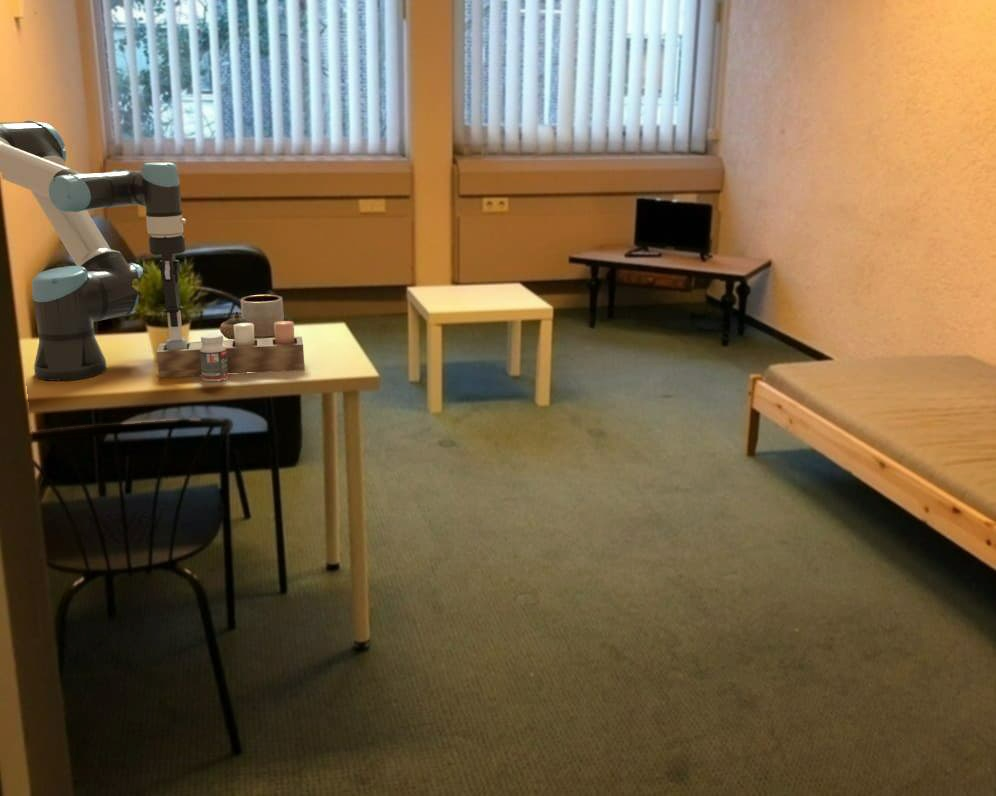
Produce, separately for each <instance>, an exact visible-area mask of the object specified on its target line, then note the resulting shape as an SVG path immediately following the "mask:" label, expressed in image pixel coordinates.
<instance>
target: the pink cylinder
mask: <svg viewBox="0 0 996 796" xmlns="http://www.w3.org/2000/svg"><path fill="white" fill-rule="evenodd" d="M294 327H295V324H294V321H290V320H284V321H280V322H275V323H274V331H275V337H274V338H275V345H277V344H295V340H294V337H295V328H294Z"/></svg>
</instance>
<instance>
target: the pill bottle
mask: <svg viewBox="0 0 996 796" xmlns="http://www.w3.org/2000/svg"><path fill="white" fill-rule="evenodd" d="M223 340H224V336H223V334H222V333H219V332H217V333H216V332H211V333H206V334H202V335H201V336H200V342H202V343H203V345H202V346H201V347H200V361H201V373H202V376H201V378H202V380H203V381H204V380H205V381H204V382H208V381H217V380H223V381H225V380H227V379H228V378H229V374H228V366H227V353H226V346H225V345H224V344H222V341H223ZM224 379H225V380H224ZM217 382H218V381H217Z"/></svg>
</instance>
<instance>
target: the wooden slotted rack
mask: <svg viewBox="0 0 996 796" xmlns="http://www.w3.org/2000/svg"><path fill="white" fill-rule="evenodd" d="M254 339H255V346H238V347H235V340H234V339H223V341H222V344H224V345H225V346H226V353H227V366H228V373H238V374H248V373H247V372H256V373H269V372H268V371H274V372H289V371H305V354H304V353H305V352H304V351H305V350H304V343H303V337H302V336H294V340H295V344H277V345H275V337H269V338H254ZM186 342H187V341H186ZM202 345H203V343H202V342H201V341H188V342H187V349H179V350H167V346H166V342H165V343H159V345H158V348H157V349H156V359H157V360H156V361H157V370H158V378H159V377H168V378H181V377H183V376H185V377H198V376H200V377H202V376H201V375H202V373H201V361H200V347H201V346H202ZM183 378H184V377H183Z"/></svg>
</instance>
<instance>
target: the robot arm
mask: <svg viewBox="0 0 996 796" xmlns="http://www.w3.org/2000/svg"><path fill="white" fill-rule="evenodd" d="M65 146H66V145H65V142H64V140H63V138H62V136H61V134H60V133H59V131H58V130H57V129H55V127H53V126H52V125H50V124H49V123H46V122H43V121H35V120H26V121H23V122H22V121H20V122H19V121H18V122H17V121H16V122H12V121H11V122H9V121H8V122H0V172H1V173H2V178H1V179H2V180H4V181H6V182H9V183H12V184H14V185H17V186H20V187H22V188H24V189H26V190H28V191H30V192H31V193H32V194H33V196H34V198H35V200H36V201H37V203H38V205H39V207H40V208H41V210H42V211H43V213H44V215H45V216H46V217H47V220H48V221H49V223H50V225H51V226H52V227H53V229H54V231H55V232H56V234H57V235H58V237H59V239H60V241H61V242H62V244H63V246H64V247H65V249H66V250H67V252H68V255H70V257H71V259H72V260H73V262H74V263H75V265H68V266H67V265H66V266H63V267H55V268H51V269H47V270H44V271H42V272H39V273H38V274H36V275H35V276H34V277H33V279H32V281H31V287H32V289H31V290H32V291H31V292H32V294H31V298H32V300H33V305H34V306H33V307H34V313H35V320H36V327H37V333H38V346H37V350H36V356H35V360H34V365H33V366H34V367H33V369H34V376H35V377H36V378H38V379H41V380H46V381H73V380H79V379H80V380H81V379H86V378H90V377H94V376H97V375H100V374H102V373H104V372H106V370H107V361H106V358H105V356H104V353H103V351H102V349H101V346H100V345H99V343H98V341H97V339H96V335H95V330H94V322H99V321H103V320H108V319H113V318H120V317H127V316H130V315H131V314H135V312H136V311H135V309H136V307H137V304H138V300H139V299H138V298H139V295H138V292H137V291H136V290H135V289H134V288H133V287H132V281H133V280H134V279H138V278H140V277H141V275H142V274H143V269H144V268H143V267H142V266H141V265H140V264H137V263H133V262H129V263H128V262H127V261H126V259H125V257H124V256H123V254H122V253H121V252H120V251H119V250H114V249H112V248H110V245H109V244H108V242H107V241H106V239H105V237H104V236H103V235H102V233H101V231H100V230H99V228H98V226H97V224H96V223H95V222H94V220H93V218H92V216H91V214H89V212H88V211H90V210H98V209H100V210H101V209H109V208H119V207H129V206H137V207H138V206H140V207H141V206H142V207H145V219H146V228H147V229H146V230H147V233H148V235H150V236H149V237H148V244H149V245H148V247H149V252H150V253H151V255H160V256H161V260H160V261H159V262H158V269H159V272H160V275H161V276H160V277H161V282H162V286H163V295H164V303H165V309H163V313H164V314H166V315H167V327H168V335H169V339H170V341H176V340H183V339H184V337H183V328H182V316H181V314H182V313H181V311H182V310H184V306H181V299H180V289H179V288H180V286H179V285H180V284H179V278H180V274H179V273H180V272H179V267H180V261H179V259H176V255H180V254H183V253H185V252H186V241H185V239H186V238H185V236H184V235H183V233H184V225H183V224H186V222H187V220H186V219H185V218H183V208H182V196H181V194H182V193H181V180H180V176H179V169H178V166H177V165H176V163H173V162H168V161H167V162H160V161H159V162H157V161H156V162H145V163H143V164H142V165H141V171H140V170H130V169H116V170H112V171H106V172H91V173H83V172H79V171H76V170H74V169H71V168H70V167H68V166H67V167H66V163H65V162H66V161H67V160H66V159H67V149H65ZM136 313H137V312H136Z"/></svg>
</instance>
